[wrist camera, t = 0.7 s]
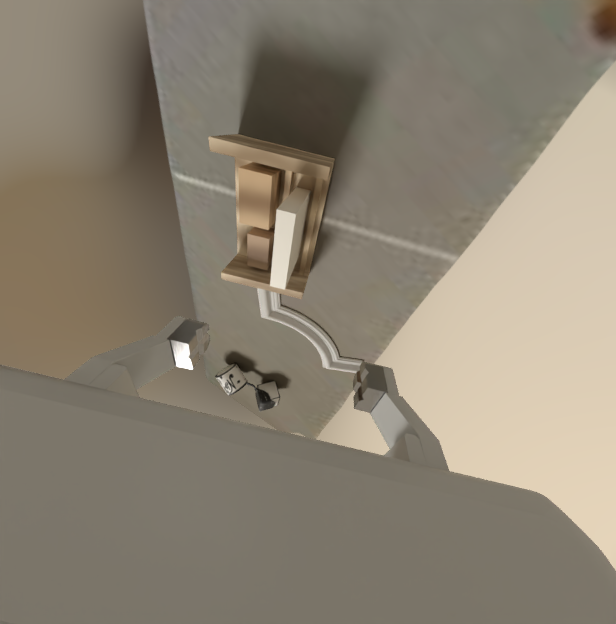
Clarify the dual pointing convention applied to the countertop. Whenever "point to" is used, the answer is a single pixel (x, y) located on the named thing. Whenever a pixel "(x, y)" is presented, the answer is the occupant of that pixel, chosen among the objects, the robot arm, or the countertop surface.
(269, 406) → the patterned dumbbell
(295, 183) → the offcut rack
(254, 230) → the walnut offcut
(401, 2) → the countertop surface
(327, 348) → the molding
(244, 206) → the oak offcut
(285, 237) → the white square panel
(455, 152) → the countertop surface
